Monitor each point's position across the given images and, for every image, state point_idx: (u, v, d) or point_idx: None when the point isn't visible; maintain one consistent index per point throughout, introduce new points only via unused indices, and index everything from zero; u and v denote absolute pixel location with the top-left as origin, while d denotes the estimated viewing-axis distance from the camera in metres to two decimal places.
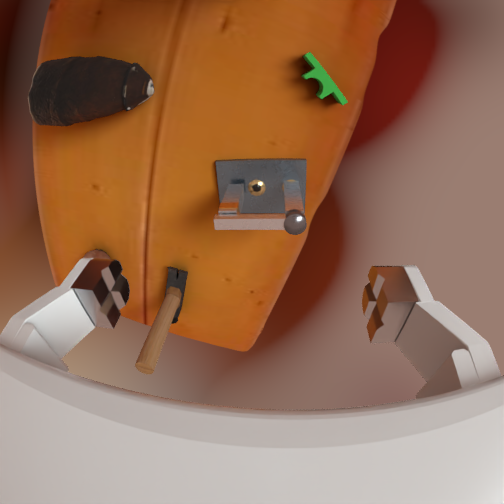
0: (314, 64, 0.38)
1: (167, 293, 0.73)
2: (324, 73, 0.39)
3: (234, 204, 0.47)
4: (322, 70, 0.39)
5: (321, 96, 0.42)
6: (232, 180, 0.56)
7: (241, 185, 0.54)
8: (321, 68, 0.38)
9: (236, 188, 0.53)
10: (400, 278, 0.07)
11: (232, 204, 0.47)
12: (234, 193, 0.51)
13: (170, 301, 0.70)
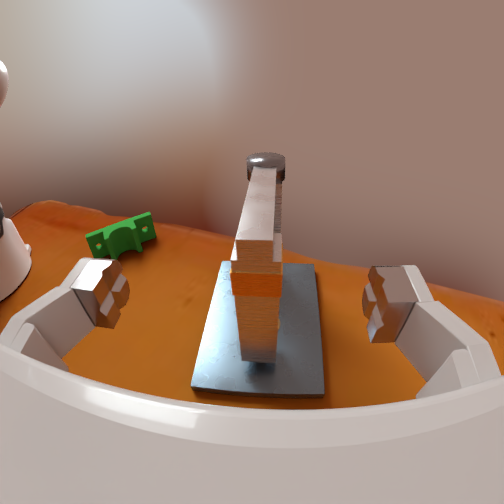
0: (98, 232, 0.38)
1: None
2: (111, 225, 0.39)
3: None
4: (108, 227, 0.39)
5: (133, 227, 0.39)
6: (240, 362, 0.25)
7: None
8: (105, 227, 0.39)
9: None
10: (400, 278, 0.07)
11: None
12: None
13: None
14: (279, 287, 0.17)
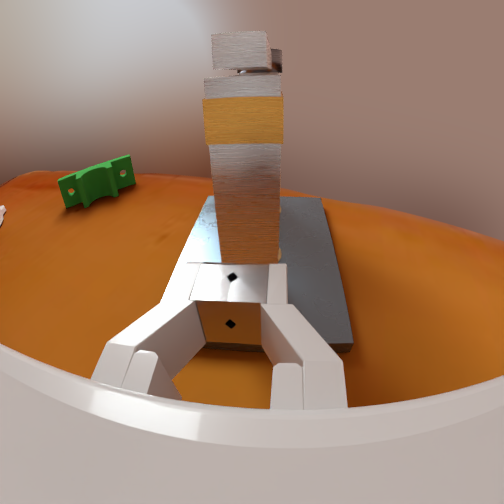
0: (72, 175, 0.31)
1: None
2: (86, 168, 0.33)
3: None
4: (82, 170, 0.32)
5: (108, 166, 0.32)
6: None
7: None
8: (80, 171, 0.32)
9: None
10: (257, 277, 0.07)
11: None
12: None
13: None
14: (279, 122, 0.10)
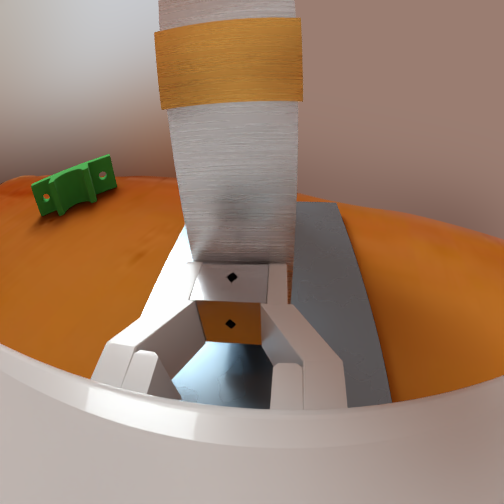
0: (46, 178, 0.26)
1: None
2: (62, 171, 0.27)
3: None
4: (58, 173, 0.27)
5: (84, 168, 0.26)
6: (211, 355, 0.12)
7: None
8: (55, 174, 0.27)
9: None
10: (256, 277, 0.07)
11: None
12: None
13: None
14: (295, 62, 0.05)
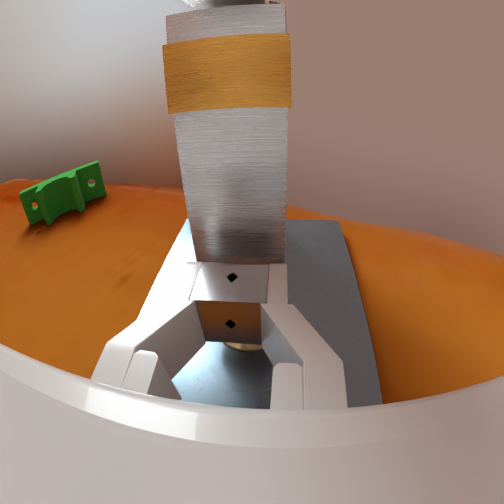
0: (34, 186, 0.25)
1: None
2: (50, 179, 0.26)
3: None
4: (46, 180, 0.26)
5: (71, 176, 0.25)
6: None
7: None
8: (43, 181, 0.26)
9: None
10: (257, 277, 0.07)
11: None
12: None
13: None
14: (284, 73, 0.06)
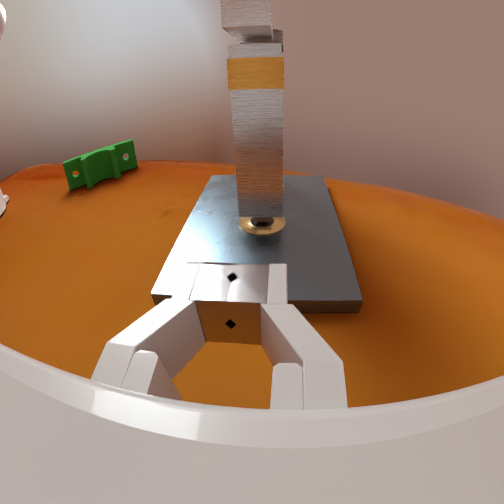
0: (77, 157, 0.32)
1: None
2: (91, 152, 0.34)
3: None
4: (87, 153, 0.33)
5: (112, 149, 0.33)
6: (229, 262, 0.18)
7: None
8: (84, 154, 0.33)
9: None
10: (257, 277, 0.07)
11: None
12: None
13: None
14: (281, 74, 0.13)
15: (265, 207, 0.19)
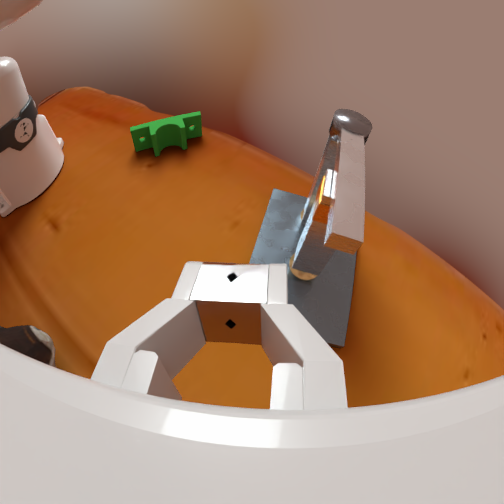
0: (144, 126, 0.37)
1: None
2: (158, 121, 0.38)
3: (318, 191, 0.22)
4: (154, 122, 0.38)
5: (182, 126, 0.37)
6: None
7: (298, 242, 0.30)
8: (152, 122, 0.38)
9: (300, 241, 0.28)
10: (257, 277, 0.07)
11: (318, 193, 0.22)
12: (305, 229, 0.26)
13: None
14: None
15: (310, 269, 0.28)
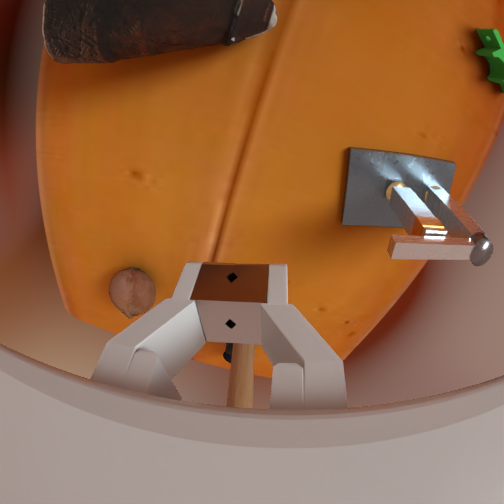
0: (500, 44, 0.16)
1: None
2: None
3: (435, 219, 0.27)
4: None
5: None
6: (368, 179, 0.36)
7: (410, 190, 0.34)
8: None
9: (409, 194, 0.33)
10: (256, 277, 0.07)
11: (433, 220, 0.27)
12: (416, 202, 0.31)
13: None
14: None
15: (391, 200, 0.36)
